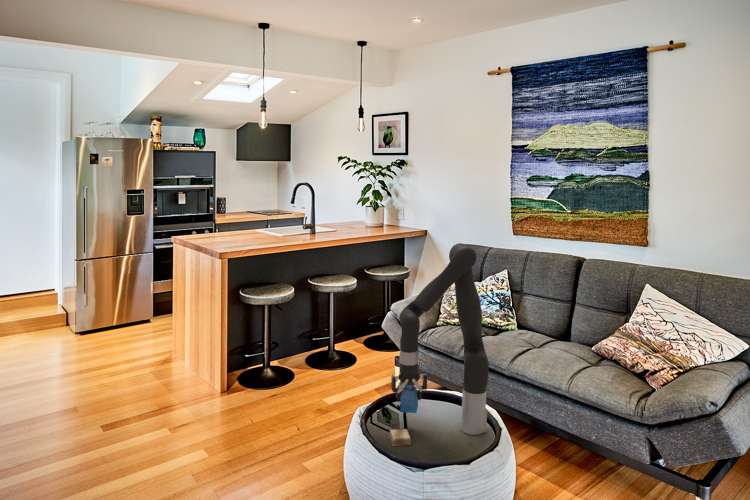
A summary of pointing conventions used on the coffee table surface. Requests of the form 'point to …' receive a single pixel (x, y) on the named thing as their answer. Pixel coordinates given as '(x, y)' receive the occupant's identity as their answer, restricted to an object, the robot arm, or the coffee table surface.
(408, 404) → the perfume bottle
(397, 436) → the pedestal
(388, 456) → the coffee table surface
